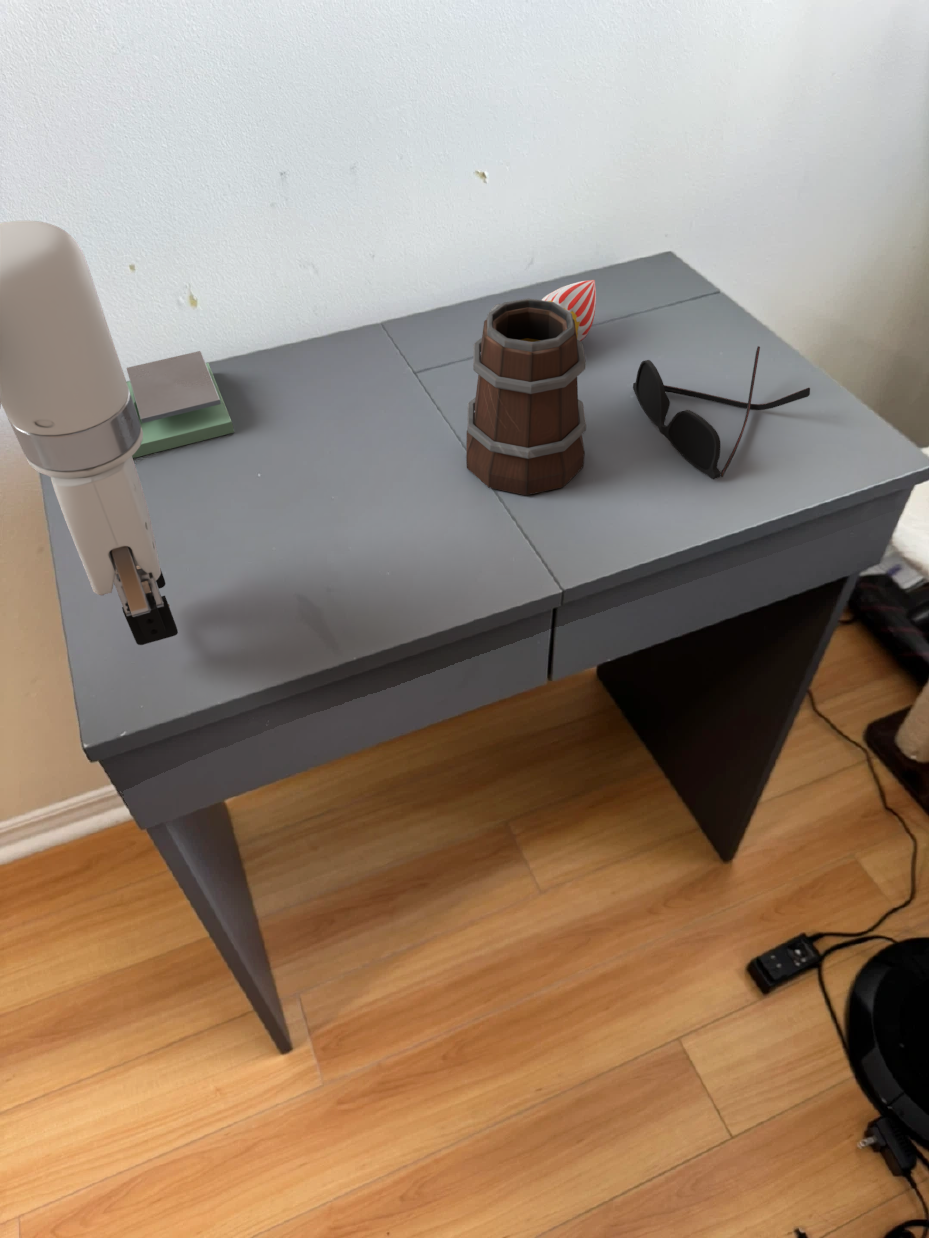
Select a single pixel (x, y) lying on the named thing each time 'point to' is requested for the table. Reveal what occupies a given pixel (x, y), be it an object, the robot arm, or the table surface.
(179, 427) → the scale
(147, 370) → the brushed metal plate
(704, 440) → the sunglasses
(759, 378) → the table surface
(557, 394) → the wooden bucket
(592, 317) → the ice cream cone
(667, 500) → the table surface
